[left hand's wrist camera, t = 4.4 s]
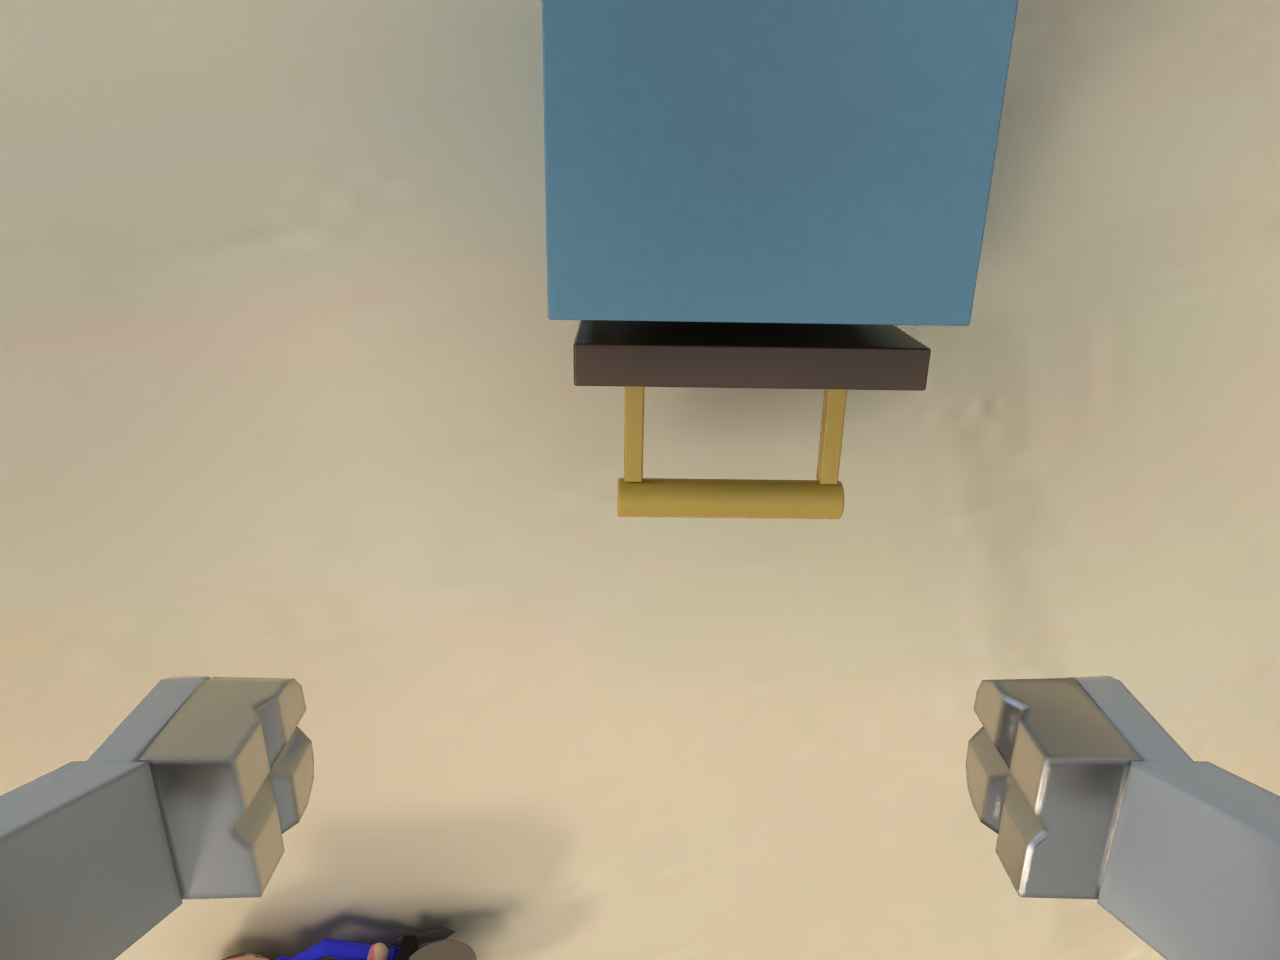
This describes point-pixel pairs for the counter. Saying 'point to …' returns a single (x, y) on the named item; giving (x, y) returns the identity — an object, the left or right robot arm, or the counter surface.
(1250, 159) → the counter surface
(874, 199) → the cabinet
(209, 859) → the left robot arm
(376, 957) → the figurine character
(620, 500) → the drawer
